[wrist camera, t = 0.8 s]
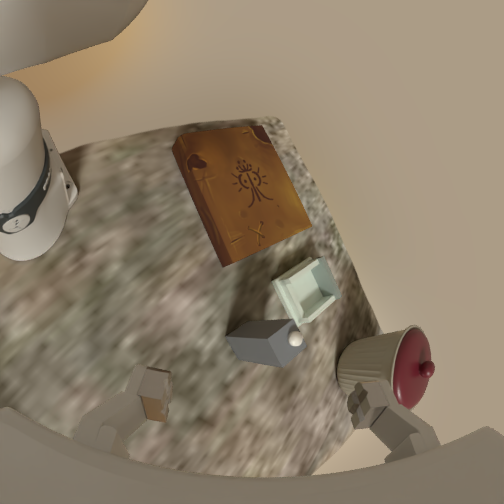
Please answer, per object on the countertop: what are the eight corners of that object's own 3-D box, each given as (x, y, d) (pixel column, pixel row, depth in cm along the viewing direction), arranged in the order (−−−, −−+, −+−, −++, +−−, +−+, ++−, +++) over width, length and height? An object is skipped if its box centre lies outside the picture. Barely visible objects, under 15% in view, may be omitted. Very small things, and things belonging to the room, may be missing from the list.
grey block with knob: (225, 336, 43) (270, 339, 33) (247, 321, 46) (297, 318, 35) (238, 359, 43) (286, 368, 33) (259, 343, 46) (310, 346, 35)
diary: (169, 152, 46) (179, 134, 41) (247, 139, 57) (261, 125, 52) (220, 268, 46) (236, 261, 41) (294, 234, 57) (313, 225, 52)
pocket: (271, 281, 50) (288, 276, 46) (307, 257, 57) (324, 251, 52) (294, 327, 51) (312, 326, 46) (327, 299, 57) (344, 296, 53)
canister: (356, 315, 61) (436, 303, 44) (379, 367, 62) (451, 366, 45) (312, 367, 51) (405, 372, 33) (343, 419, 52) (424, 432, 35)
